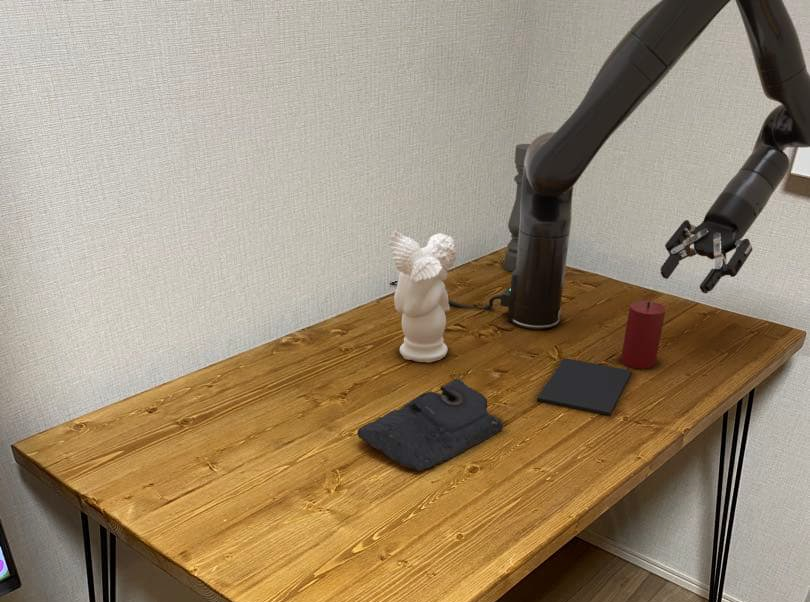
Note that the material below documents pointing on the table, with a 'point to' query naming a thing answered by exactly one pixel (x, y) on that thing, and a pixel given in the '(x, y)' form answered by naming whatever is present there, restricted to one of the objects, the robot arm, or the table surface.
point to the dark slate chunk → (433, 427)
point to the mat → (585, 386)
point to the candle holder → (515, 210)
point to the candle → (643, 334)
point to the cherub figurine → (422, 294)
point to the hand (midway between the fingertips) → (682, 283)
